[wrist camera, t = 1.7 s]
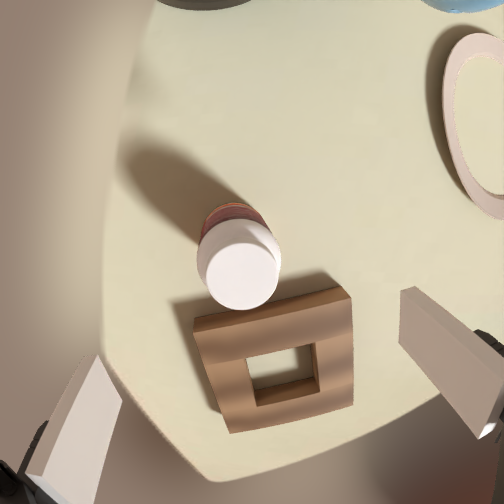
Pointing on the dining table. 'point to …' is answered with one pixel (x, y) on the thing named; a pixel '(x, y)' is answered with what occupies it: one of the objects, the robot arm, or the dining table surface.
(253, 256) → the pill bottle
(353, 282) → the dining table surface
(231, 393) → the socket block
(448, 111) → the plate
